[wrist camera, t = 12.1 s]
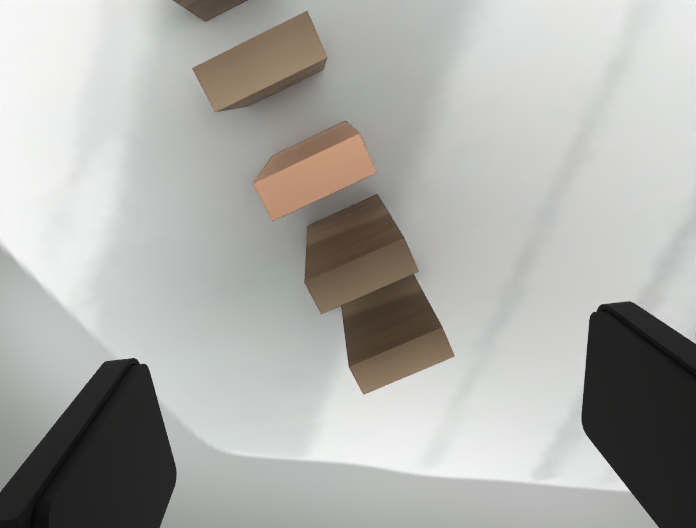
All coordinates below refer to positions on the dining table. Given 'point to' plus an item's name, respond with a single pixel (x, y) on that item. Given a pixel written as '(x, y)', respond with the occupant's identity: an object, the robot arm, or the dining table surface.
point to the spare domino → (313, 170)
